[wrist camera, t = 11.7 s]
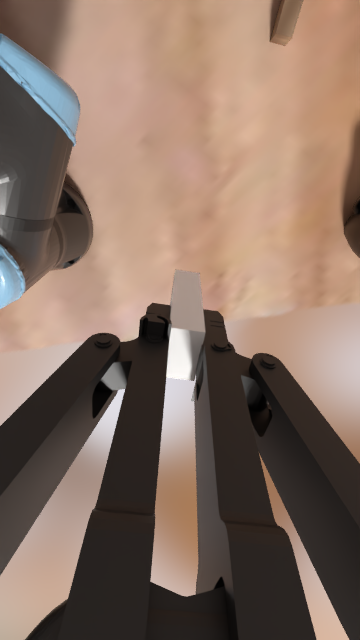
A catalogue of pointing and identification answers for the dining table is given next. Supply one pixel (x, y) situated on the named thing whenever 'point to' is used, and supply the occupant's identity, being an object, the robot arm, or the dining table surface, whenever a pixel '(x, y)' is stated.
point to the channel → (286, 21)
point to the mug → (354, 229)
